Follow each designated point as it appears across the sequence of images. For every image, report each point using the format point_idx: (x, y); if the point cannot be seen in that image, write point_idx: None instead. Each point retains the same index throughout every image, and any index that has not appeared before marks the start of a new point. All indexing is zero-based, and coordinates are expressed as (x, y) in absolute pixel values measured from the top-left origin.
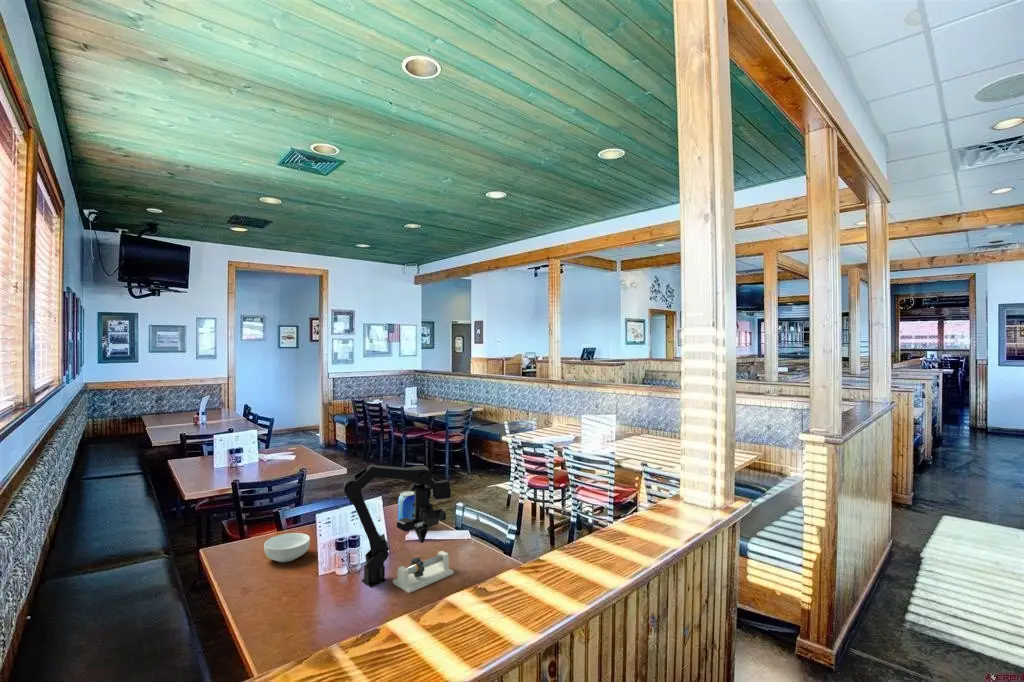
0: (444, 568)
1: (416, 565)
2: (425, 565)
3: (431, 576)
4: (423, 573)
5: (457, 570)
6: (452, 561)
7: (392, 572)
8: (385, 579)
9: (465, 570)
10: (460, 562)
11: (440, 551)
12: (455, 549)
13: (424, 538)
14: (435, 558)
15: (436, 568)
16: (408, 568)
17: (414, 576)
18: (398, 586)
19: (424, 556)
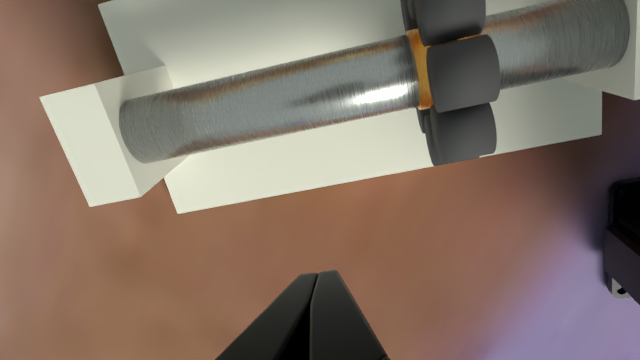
0: (159, 66)
1: None
2: (350, 49)
3: (304, 15)
4: None
5: (66, 41)
6: (66, 197)
7: (499, 274)
8: (619, 192)
9: (4, 3)
10: (14, 151)
11: (110, 199)
12: (6, 332)
13: (275, 309)
14: (206, 100)
15: None
16: (593, 18)
17: None
18: None
19: (220, 352)
